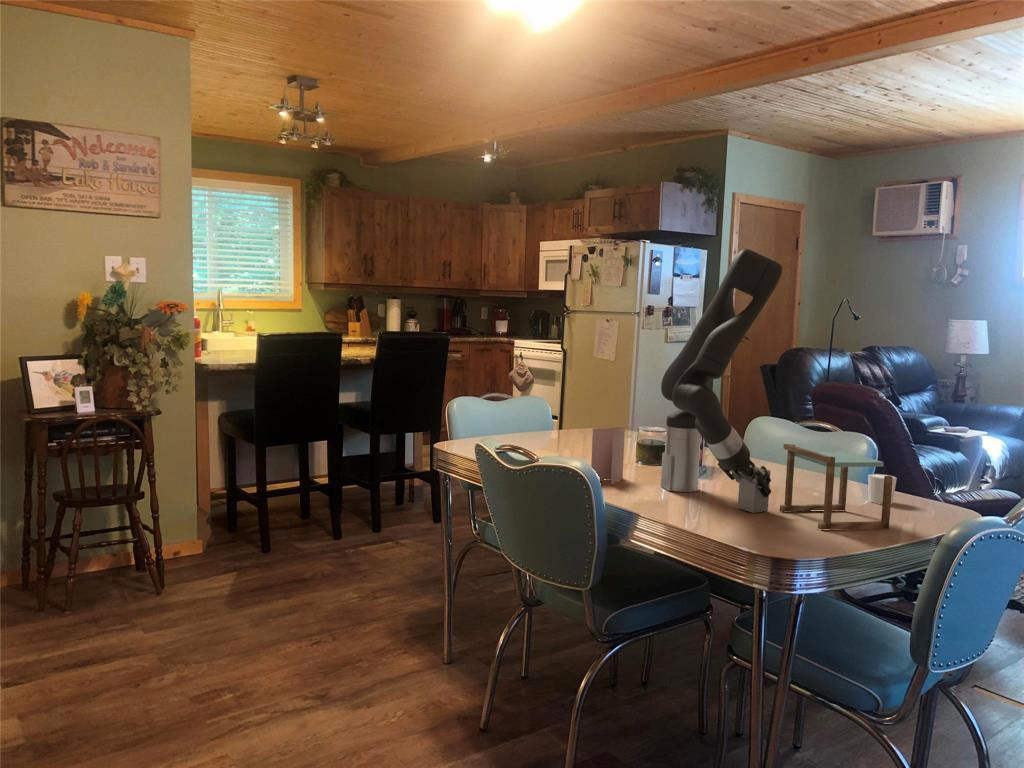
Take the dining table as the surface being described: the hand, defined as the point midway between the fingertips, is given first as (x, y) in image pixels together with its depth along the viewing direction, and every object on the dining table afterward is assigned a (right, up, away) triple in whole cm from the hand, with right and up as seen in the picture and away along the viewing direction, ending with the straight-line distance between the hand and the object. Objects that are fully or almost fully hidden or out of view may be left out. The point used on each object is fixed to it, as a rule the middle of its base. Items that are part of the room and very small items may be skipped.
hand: (758, 492), depth 190 cm
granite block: (-2, -4, -1) cm, 5 cm away
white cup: (+36, -5, +13) cm, 38 cm away
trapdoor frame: (+15, -5, -8) cm, 18 cm away
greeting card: (-32, -1, +28) cm, 43 cm away
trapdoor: (+16, +8, -9) cm, 20 cm away
